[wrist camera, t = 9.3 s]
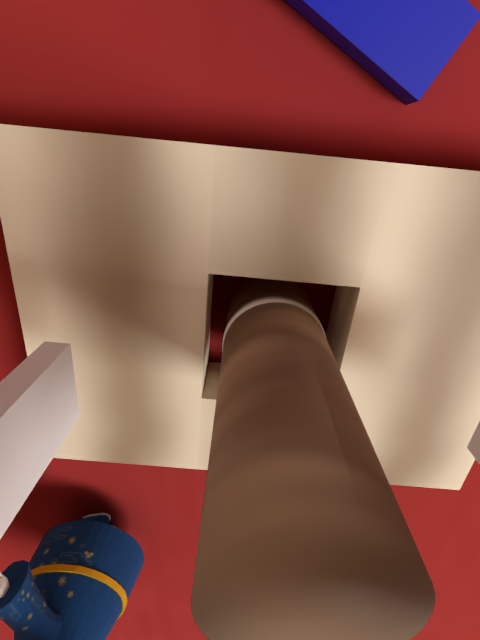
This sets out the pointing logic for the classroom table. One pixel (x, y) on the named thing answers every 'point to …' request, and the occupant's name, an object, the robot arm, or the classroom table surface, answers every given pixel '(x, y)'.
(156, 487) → the classroom table surface
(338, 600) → the peg
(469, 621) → the classroom table surface
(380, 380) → the board
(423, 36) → the mount
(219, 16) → the classroom table surface
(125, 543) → the blue tall vessel
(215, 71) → the classroom table surface
